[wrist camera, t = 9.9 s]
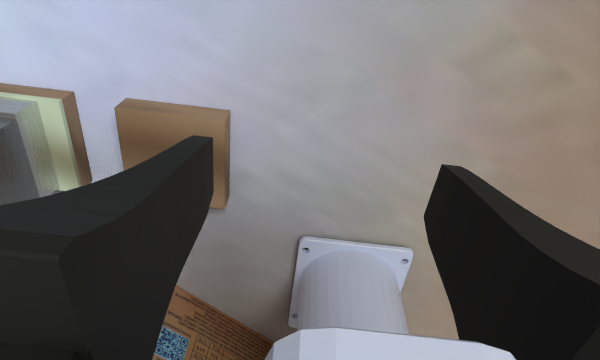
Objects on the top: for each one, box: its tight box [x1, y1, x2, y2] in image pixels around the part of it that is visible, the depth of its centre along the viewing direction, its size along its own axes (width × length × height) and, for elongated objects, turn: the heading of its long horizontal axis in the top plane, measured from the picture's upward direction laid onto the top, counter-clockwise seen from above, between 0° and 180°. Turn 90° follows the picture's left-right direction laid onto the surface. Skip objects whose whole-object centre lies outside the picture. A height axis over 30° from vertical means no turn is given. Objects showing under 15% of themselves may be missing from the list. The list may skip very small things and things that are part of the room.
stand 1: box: [0, 83, 92, 191], centre depth 23 cm, size 6×6×2 cm
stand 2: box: [114, 98, 230, 209], centre depth 23 cm, size 6×6×2 cm
